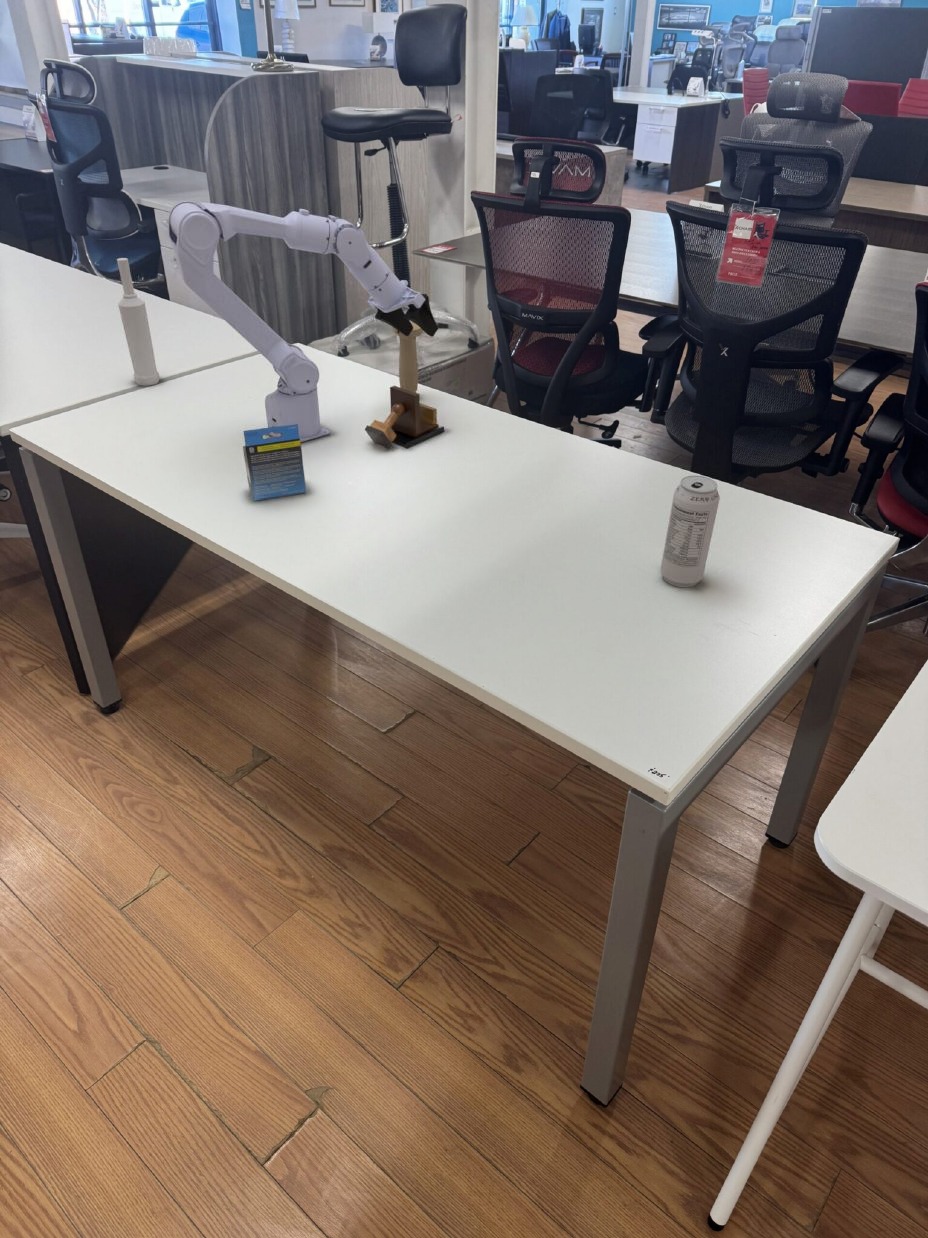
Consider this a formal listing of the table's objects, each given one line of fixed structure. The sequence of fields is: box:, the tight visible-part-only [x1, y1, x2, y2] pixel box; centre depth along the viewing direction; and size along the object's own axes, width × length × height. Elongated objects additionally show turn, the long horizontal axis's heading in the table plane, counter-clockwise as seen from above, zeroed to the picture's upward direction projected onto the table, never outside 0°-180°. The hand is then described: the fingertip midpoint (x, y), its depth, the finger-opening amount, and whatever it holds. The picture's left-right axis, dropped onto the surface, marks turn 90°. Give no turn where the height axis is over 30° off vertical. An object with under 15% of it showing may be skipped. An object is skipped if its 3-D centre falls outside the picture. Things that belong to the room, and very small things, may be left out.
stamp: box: [364, 403, 405, 450], centre depth 156 cm, size 8×4×7 cm, turn 140°
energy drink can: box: [660, 475, 721, 588], centre depth 117 cm, size 6×6×15 cm
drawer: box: [389, 385, 440, 438], centre depth 160 cm, size 7×6×8 cm
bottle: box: [116, 257, 160, 387], centre depth 175 cm, size 5×5×25 cm
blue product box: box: [242, 424, 307, 502], centre depth 138 cm, size 9×4×12 cm, turn 111°
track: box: [391, 426, 445, 449], centre depth 161 cm, size 10×8×1 cm
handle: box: [391, 321, 423, 393], centre depth 173 cm, size 5×6×15 cm
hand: (422, 332), depth 161 cm, fingers open, 7 cm apart
